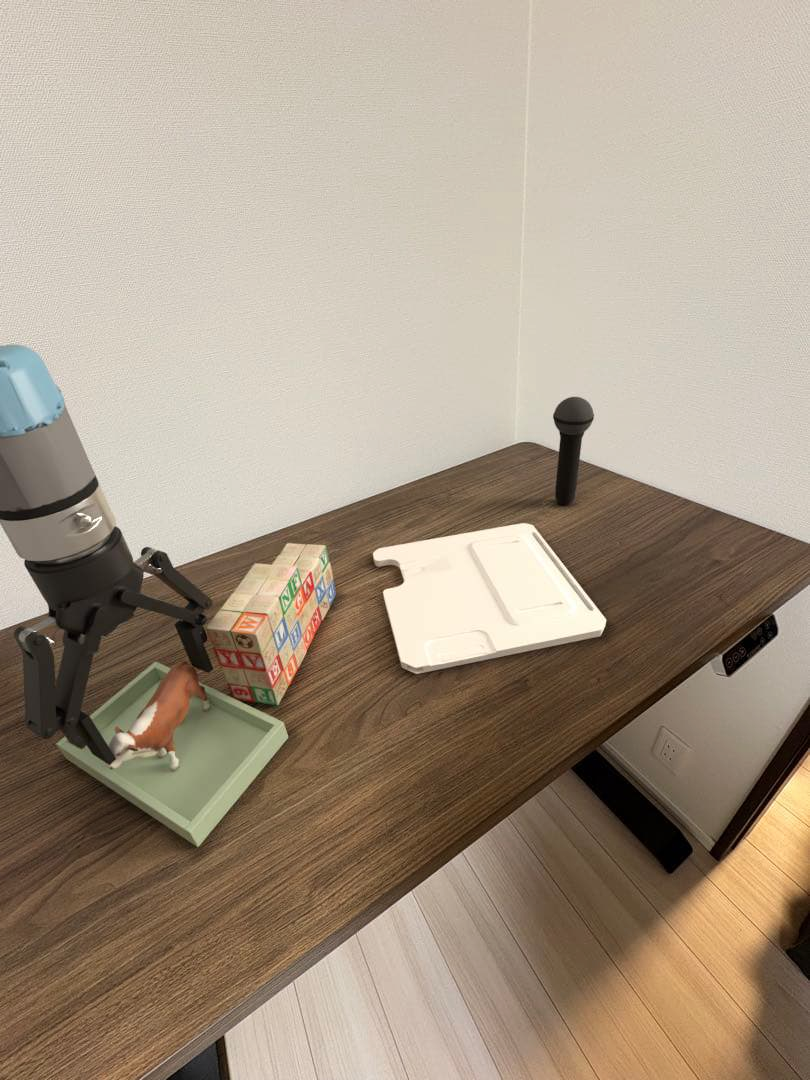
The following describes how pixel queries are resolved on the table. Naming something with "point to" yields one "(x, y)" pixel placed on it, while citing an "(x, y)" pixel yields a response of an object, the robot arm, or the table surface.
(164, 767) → the tray
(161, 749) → the bull figurine
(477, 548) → the tray
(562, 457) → the microphone
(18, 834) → the table surface
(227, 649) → the stack of blocks
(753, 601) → the table surface
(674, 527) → the table surface
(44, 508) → the robot arm
